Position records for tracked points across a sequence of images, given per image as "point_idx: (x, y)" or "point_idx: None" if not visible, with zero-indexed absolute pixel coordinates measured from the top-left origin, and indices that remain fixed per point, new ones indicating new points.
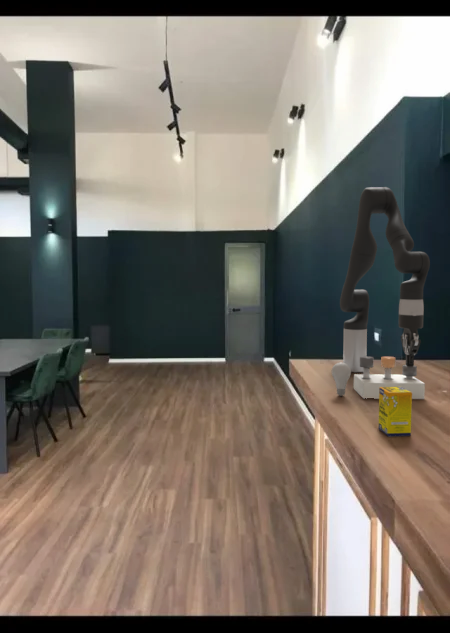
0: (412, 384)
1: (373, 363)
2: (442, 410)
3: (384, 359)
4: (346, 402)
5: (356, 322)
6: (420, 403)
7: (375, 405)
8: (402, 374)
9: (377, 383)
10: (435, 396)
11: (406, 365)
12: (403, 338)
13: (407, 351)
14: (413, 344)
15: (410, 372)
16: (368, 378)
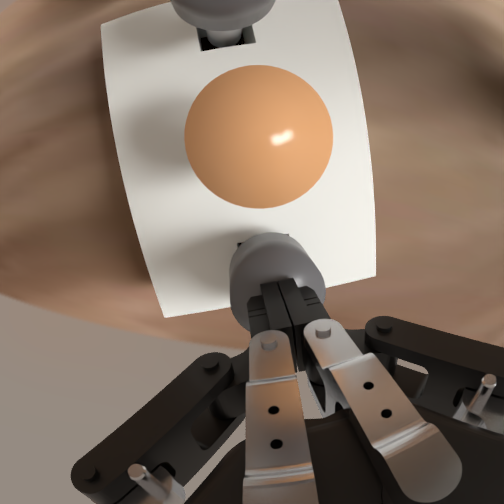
0: (148, 261)
1: (211, 20)
2: (54, 307)
3: (201, 94)
4: (69, 11)
5: None
6: (105, 259)
7: (41, 103)
8: (267, 233)
9: (106, 84)
10: (232, 324)
11: (285, 280)
12: (413, 427)
13: (262, 356)
14: (102, 453)
15: (229, 282)
16: (208, 33)
